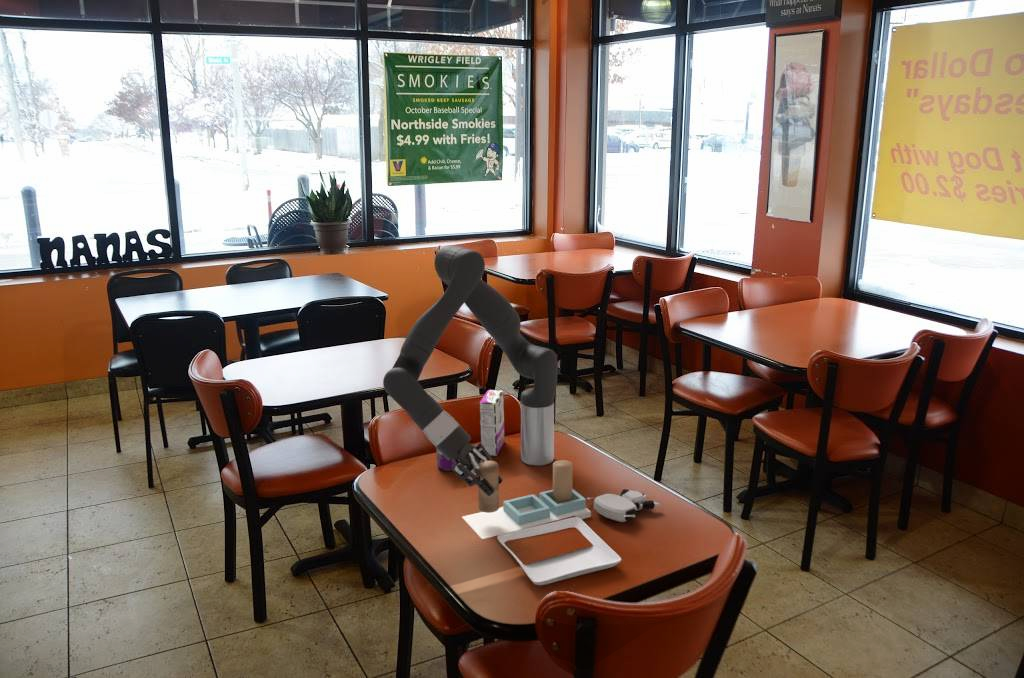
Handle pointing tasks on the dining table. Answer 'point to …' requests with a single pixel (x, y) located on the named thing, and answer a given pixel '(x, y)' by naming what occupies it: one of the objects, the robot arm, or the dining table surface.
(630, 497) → the robot toy
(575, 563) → the salad plate
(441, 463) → the beverage can
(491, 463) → the walnut column
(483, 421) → the candy bar box
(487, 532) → the base board
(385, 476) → the dining table surface
